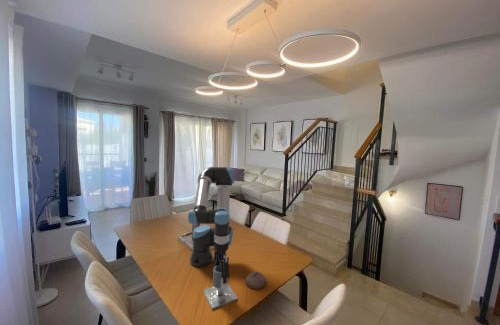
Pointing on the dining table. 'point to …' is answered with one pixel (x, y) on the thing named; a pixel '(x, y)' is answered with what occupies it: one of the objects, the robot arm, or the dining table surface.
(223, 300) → the square plate
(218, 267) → the sleeve
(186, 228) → the dining table surface
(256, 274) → the decorative stone
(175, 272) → the dining table surface
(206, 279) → the dining table surface
